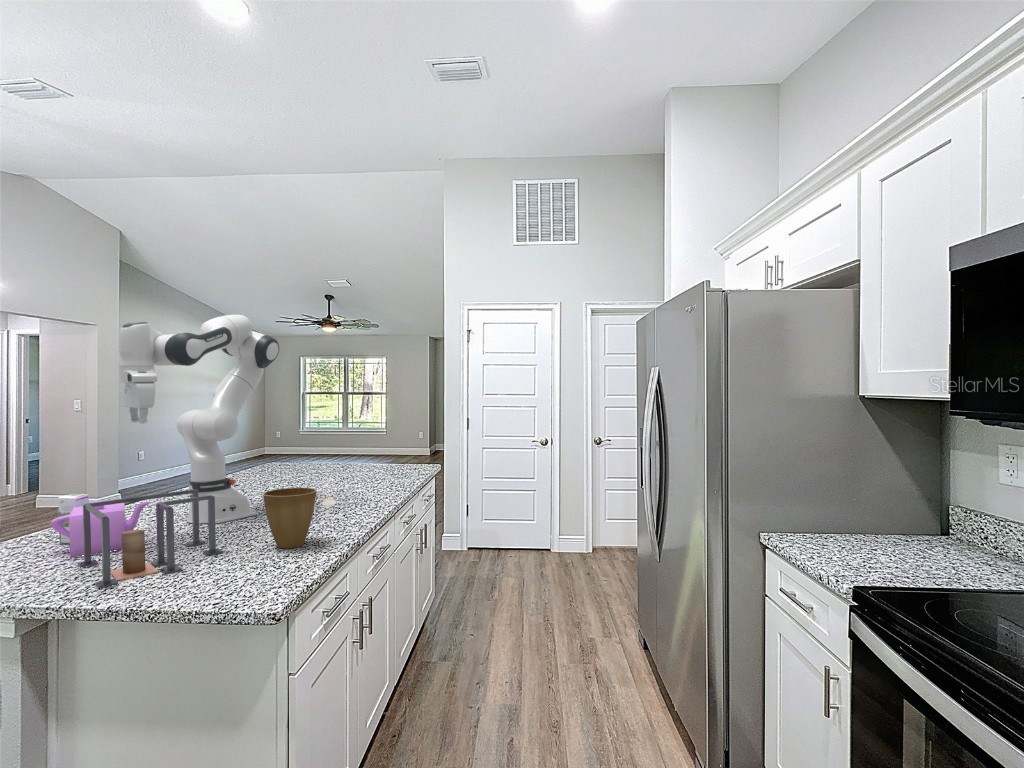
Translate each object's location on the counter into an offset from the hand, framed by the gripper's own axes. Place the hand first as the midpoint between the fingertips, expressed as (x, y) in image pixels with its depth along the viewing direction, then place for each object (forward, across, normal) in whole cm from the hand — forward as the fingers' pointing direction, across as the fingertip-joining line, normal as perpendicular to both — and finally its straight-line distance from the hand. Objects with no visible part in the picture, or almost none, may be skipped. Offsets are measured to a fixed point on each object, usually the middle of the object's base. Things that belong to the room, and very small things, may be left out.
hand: (138, 422), depth 178 cm
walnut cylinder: (+36, +27, -8) cm, 46 cm away
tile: (+37, +27, -8) cm, 46 cm away
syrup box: (+37, -22, -13) cm, 45 cm away
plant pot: (+37, +33, +31) cm, 59 cm away
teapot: (+37, -8, -8) cm, 39 cm away
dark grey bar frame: (+37, +21, -2) cm, 43 cm away
